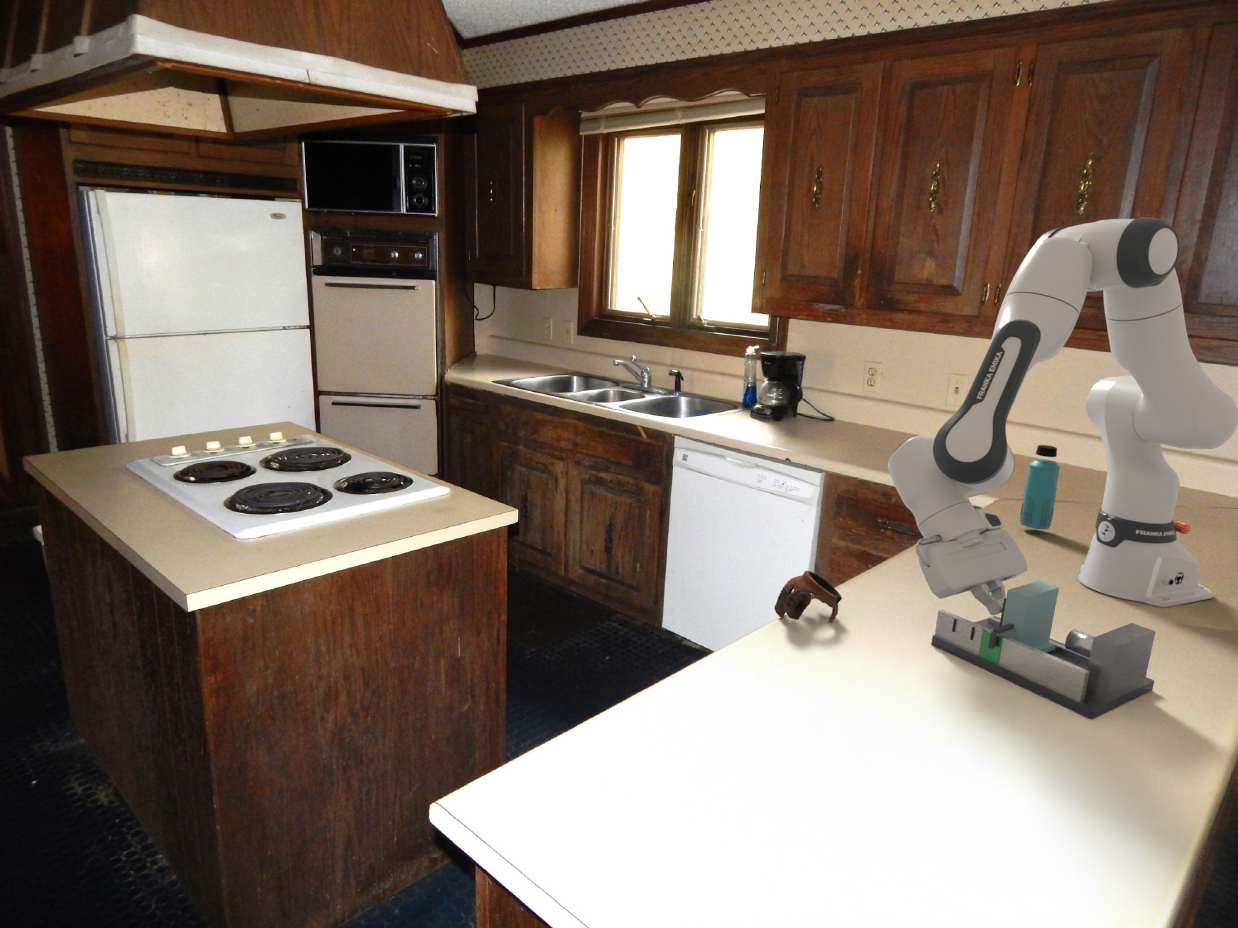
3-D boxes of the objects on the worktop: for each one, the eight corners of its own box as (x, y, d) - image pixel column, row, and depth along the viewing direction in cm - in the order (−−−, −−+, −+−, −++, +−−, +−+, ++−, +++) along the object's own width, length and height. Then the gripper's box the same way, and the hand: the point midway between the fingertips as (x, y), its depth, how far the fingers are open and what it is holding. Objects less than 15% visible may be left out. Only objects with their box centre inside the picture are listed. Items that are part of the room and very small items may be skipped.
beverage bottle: (1053, 537, 180) (1069, 450, 175) (1021, 534, 181) (1036, 447, 176) (1044, 528, 186) (1059, 444, 181) (1013, 525, 187) (1027, 441, 183)
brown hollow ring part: (779, 601, 138) (808, 564, 136) (823, 638, 134) (853, 600, 132) (756, 606, 127) (787, 566, 125) (804, 647, 123) (836, 606, 121)
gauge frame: (931, 644, 122) (939, 586, 120) (993, 624, 131) (1002, 569, 129) (1091, 719, 103) (1105, 651, 101) (1152, 690, 111) (1166, 626, 109)
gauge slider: (972, 653, 116) (981, 592, 114) (1022, 636, 123) (1032, 578, 120) (1004, 668, 112) (1015, 605, 110) (1054, 649, 119) (1065, 589, 116)
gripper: (925, 530, 119) (975, 617, 113) (1006, 514, 130) (1055, 592, 124) (897, 550, 123) (943, 633, 118) (977, 532, 134) (1023, 608, 128)
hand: (1001, 612), depth 121 cm, fingers closed
